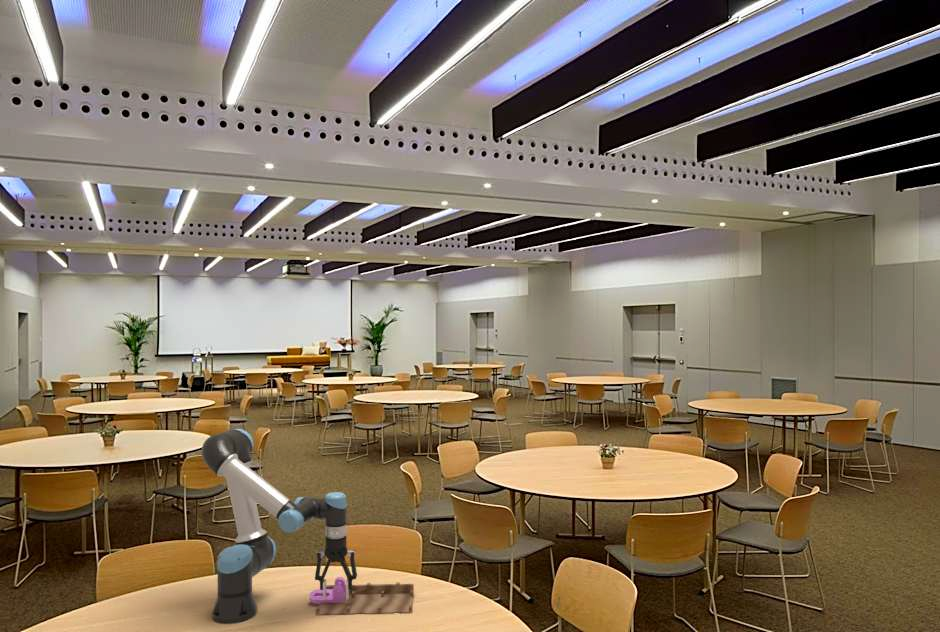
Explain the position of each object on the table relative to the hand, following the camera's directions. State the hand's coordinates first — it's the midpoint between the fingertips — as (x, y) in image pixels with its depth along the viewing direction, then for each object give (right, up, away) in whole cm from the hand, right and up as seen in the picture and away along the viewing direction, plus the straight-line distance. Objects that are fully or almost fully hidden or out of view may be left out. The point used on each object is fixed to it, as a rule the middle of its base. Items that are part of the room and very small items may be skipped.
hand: (336, 598), depth 240 cm
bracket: (-4, -1, +4) cm, 6 cm away
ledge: (+11, -3, +1) cm, 12 cm away
